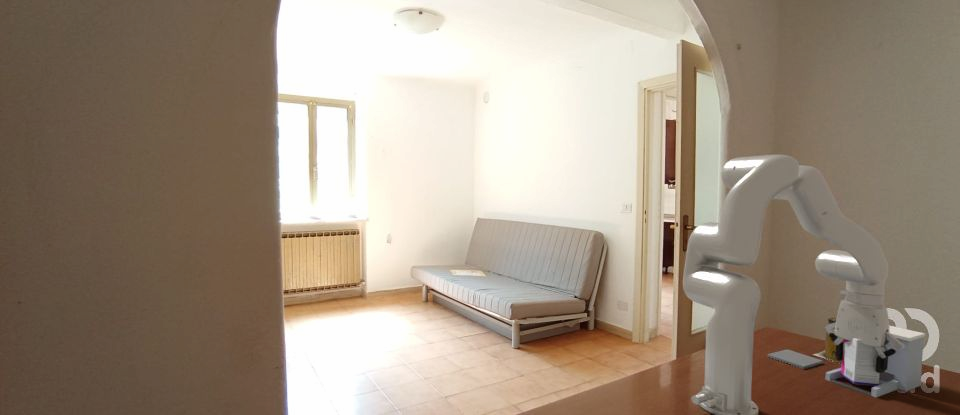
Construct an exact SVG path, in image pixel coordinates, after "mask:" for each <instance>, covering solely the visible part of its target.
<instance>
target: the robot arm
mask: <svg viewBox="0 0 960 415" xmlns="http://www.w3.org/2000/svg"><path fill="white" fill-rule="evenodd" d="M720 175H721V180H722V182H723V184H724V186H725V187H726V188H728V189H729V192H728V193H727V195H726V197H725V199H724V202H723V204H722V210H721V215H720V219H719V222H716V221H715V222H713V221H712V222H711V221H709V222H703V223H700V224H699V225H697V226H696V227H695V228H694V229H693V231H692V232H691V234H690V236H689V238H688V242H687V247H686V253H685V260H684V267H683V276H682V288H683V291H684V294H685V296H686V298H688V299H690V301H692V302H694V303H696V304H699V305H702V306H705V307H708V308H711V309H713V310H714V313H713V315H712V316H711V318H710V319H709V321H708V322H707V325H706V330H705V353H704V354H705V356H704V357H705V359H704V382H703V383H704V386H703V385H702V387H701V391H699V392H698V393H696V394H694V395H692V396H691V398H690V400H691V402H692V403H693V404H694V405H699V407H700V408H702V409H703V410H705V411H706V412H709V413H711V414H713V415H759V407H758V405H757V404H756V402H754V401H753V400H752V382H753V381H752V380H753V379H752V378H753V356H754V332H755V322H756V318H757V313H758V310H759V306H760V303H761V297H762V296H761V289H760V286H759V285H758V283H757V281H755V280H754V279H753V278H751V277H749V276H748V275H746V274H743V273H740V272H737V271H732V270H727V269H724V268H719V265H720V264H724V265H728V266H733V267H741V268H742V267H749V266H752V265H753V264H754V263H755V262H756V261H757V259H758V257H759V252H760V246H761V242H762V241H761V240H762V233H763V228H764V221H765V215H766V211H767V208H768V206H769V205H770V203H771V201H772V200H785V201H787V202H789V205H790V207H791V208H792V210H793V213H794V214H795V216H796V218H797V220H798V223H799V224H800V226H801V228H803V230H804V231H806V232H807V233H809V234H811V235H813V236H815V237H817V238H819V239H822V240H824V241H825V242H828V243H832V244H833V245H836V246H837V247H839V248H841V249H842V250H838V249H828V250H825V251H822V252H821V253H819V254H818V255H817V257H816V259H815V261H814V265H815V269H816V271H817V272H818V273H819V274H820V275H822V276H824V277H825V278H828V279H832V280H837V281H841V282H845V283H846V284H845V289H844V290H842V289H841V290H840V291H839V295H840V296H843V297H844V300H843V299H842V300H841V301H840V303H839V307H838V309H837V315H836V318H837V319H836V322H835V323H832V324H829V325H828V324H827V325H825V326H824V329H825V330H826V331H827V332H828V333H829V336H830V337H831V339H832V340H833V341H834V344H835V345H836V356H837V360H839V361H841V360H842V353H843V341H844V340H848V341H853V338H855V339H859V340H862V342H863V344H864V345H866V346H870V347H875V349H876V351H877V352H878V354H879V356H878V357H877V358H876V372H877V373H882V372H884V371H885V370H887V367H888V357H889V356H891V355H893V354H895V353H897V352H898V351H900V350H901V349H902V348H904V344H902V343H901V342H900V341H899V340H898V339H896V338H895V337H894V336H893V335H891V334H890V328H889V325H890V319H889V313H888V309H887V307H886V306H885V305H884V304H885V303H884V302H885V301H884V300H885V289H886V288H885V287H886V286H885V285H886V280H887V279H888V276H889V270H890V268H889V263H888V260H887V258H886V256H885V253H884V251H883V249H882V247H881V244H880V243H879V242H878V240H877V239H876V238H875V237H874V236H873V235H872V234H870V232H868V231H866V230H865V229H864V228H863V227H862V226H860V225H859V224H857V223H856V222H854V221H853V220H851V219H849V217H846V216H845V215H844V214H843V213H842V211H841V209H840V207H839V205H838V203H837V200H836V198H835V197H834V195H833V193H832V191H831V189H830V186H829V184H828V182H827V180H826V179H825V176H824V175H823V173H822V171H820V170H819V169H818V168H816V167H814V166H811V165H801V164H799V162H798V160H797V159H796V158H795V157H793V156H791V155H787V154H764V155H753V156H752V155H751V156H741V157H735V158H731V159H730V160H727V162H726V163H725V164H724V165H723V167H722V169H721V174H720ZM834 328H835V331H834ZM826 331H825V332H826ZM889 342H891V343H892V344H893V347H892V348H891V349H889V350H888V349H887V347H886V345H888V344H889Z"/></svg>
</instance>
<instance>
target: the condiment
mask: <svg viewBox="0 0 960 415" xmlns="http://www.w3.org/2000/svg"><path fill="white" fill-rule="evenodd" d="M836 319H837V317H829V318H828V319H827V321H828V322H827V325H829V324H832V323H835V322H836ZM834 331H835V328H834ZM824 344H825V345H824V347H825V348H824V350H823V351H820V352H817V353H813V354H812V356H815V357H818V358H820V359H825V360H828V359H829V360H828V361H830V360H832V361H831V362H834V361H836V362H842V360H841V361H839V360H837V356H836V345H835V344H834V341H833V340H832V339H831V337H830V336H829V333H828V332H827V331H825V343H824ZM826 358H827V359H826ZM836 362H834V363H836Z"/></svg>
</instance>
